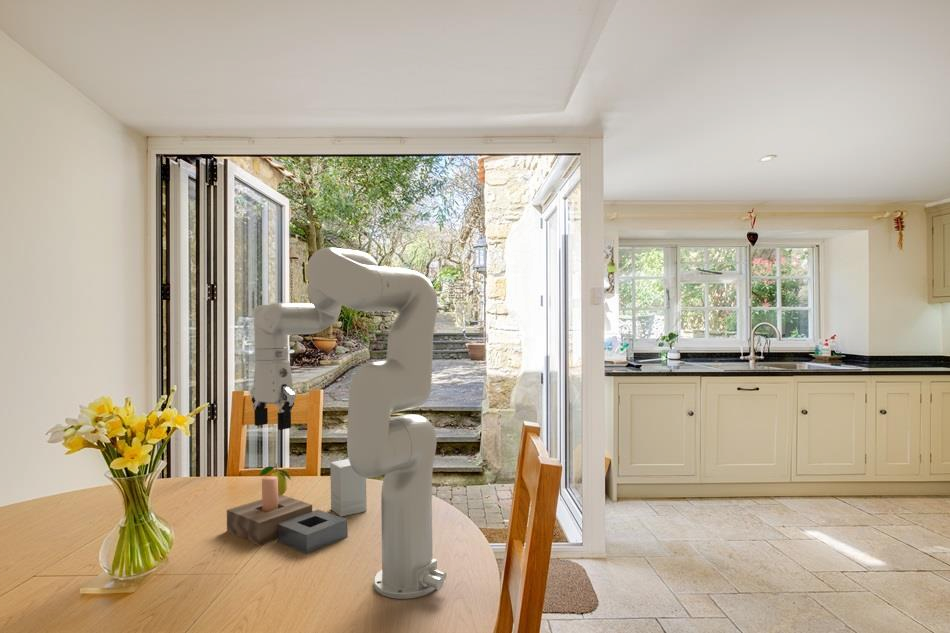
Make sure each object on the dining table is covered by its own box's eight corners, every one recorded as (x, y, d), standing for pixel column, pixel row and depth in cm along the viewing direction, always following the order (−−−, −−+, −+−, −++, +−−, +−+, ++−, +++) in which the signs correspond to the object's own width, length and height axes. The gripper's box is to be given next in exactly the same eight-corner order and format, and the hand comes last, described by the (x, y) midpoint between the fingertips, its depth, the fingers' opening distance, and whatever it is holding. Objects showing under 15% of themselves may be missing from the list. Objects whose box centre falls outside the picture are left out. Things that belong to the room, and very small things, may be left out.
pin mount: (347, 536, 122) (347, 519, 122) (306, 553, 114) (306, 535, 114) (318, 526, 129) (317, 509, 129) (277, 541, 120) (277, 523, 120)
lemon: (259, 499, 149) (259, 464, 149) (277, 493, 154) (277, 459, 154) (273, 504, 145) (273, 467, 145) (292, 498, 150) (291, 462, 150)
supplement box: (367, 511, 139) (366, 462, 139) (339, 517, 135) (339, 467, 135) (356, 503, 145) (356, 457, 145) (330, 509, 141) (329, 461, 141)
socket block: (312, 525, 130) (312, 504, 130) (259, 545, 118) (259, 522, 118) (279, 513, 138) (279, 494, 138) (226, 530, 127) (226, 509, 127)
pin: (281, 527, 128) (280, 477, 129) (267, 532, 126) (267, 481, 126) (272, 524, 131) (272, 475, 131) (259, 528, 128) (258, 478, 128)
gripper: (306, 355, 126) (307, 427, 126) (265, 354, 136) (266, 421, 136) (278, 357, 120) (279, 433, 120) (237, 356, 130) (238, 425, 130)
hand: (272, 426), depth 128 cm, fingers open, 9 cm apart
